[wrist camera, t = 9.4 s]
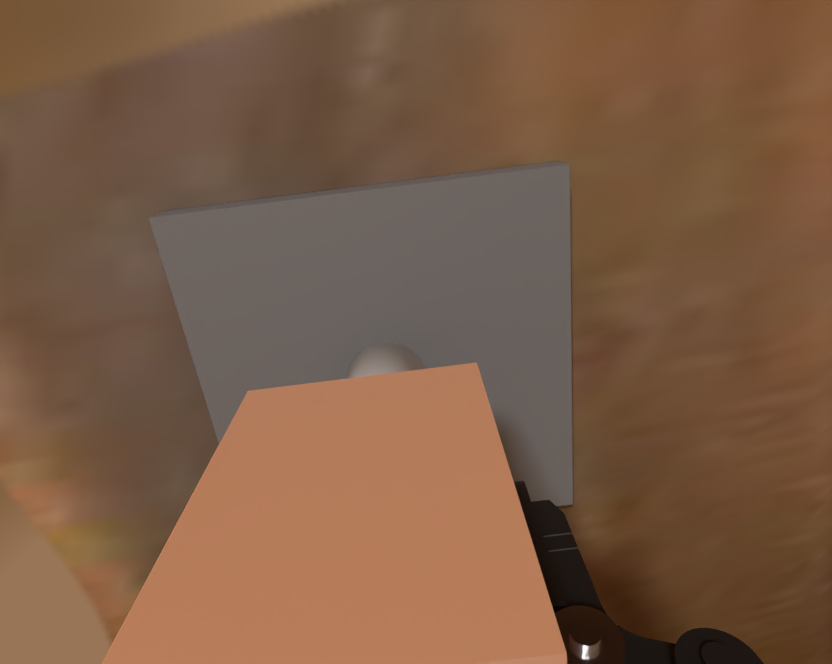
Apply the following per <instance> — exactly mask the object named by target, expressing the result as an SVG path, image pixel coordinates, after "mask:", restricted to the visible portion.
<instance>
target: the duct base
mask: <svg viewBox="0 0 832 664" xmlns="http://www.w3.org/2000/svg"><path fill="white" fill-rule="evenodd" d="M149 221H150V224H151V227H152V231H153V234H154V237H155V240H156V243H157V247H158V250H159V253H160V256H161V259H162V263H163V266H164V269H165V272H166V275H167V279H168V282H169V285H170V288H171V291H172V295H173V298H174V301H175V304H176V307H177V311H178V314H179V317H180V320H181V324H182V327H183V330H184V333H185V336H186V340H187V343H188V346H189V349H190V352H191V356H192V359H193V362H194V365H195V368H196V372H197V375H198V378H199V381H200V384H201V388H202V391H203V394H204V397H205V400H206V404H207V407H208V410H209V413H210V416H211V420H212V423H213V426H214V429H215V432H216V436H217V439H218V442H219V444H220V442H221V440H222V438H223V436H224V434H225V432H226V431H227V429H228V427H229V425H230V423H231V421H232V419H233V418H234V416H235V414H236V412H237V410H238V408H239V406H240V405H241V403H242V401H243V399H244V397H245V395H246V393H247V391H251V390H259V389H267V388H275V387H283V386H291V385H299V384H307V383H315V382H323V381H331V380H339V379H347V378H355V377H364V376H372V375H380V374H388V373H396V372H404V371H412V370H420V369H428V368H436V367H444V366H452V365H460V364H468V363H476V362H477V365H478V368H479V371H480V374H481V378H482V381H483V384H484V387H485V390H486V394H487V397H488V400H489V403H490V407H491V410H492V413H493V416H494V420H495V423H496V426H497V429H498V433H499V436H500V439H501V442H502V445H503V449H504V452H505V455H506V458H507V462H508V465H509V468H510V471H511V475H512V478H513V481H522V480H523V481H524V482H525V485H526V488H527V491H528V494H529V497H530V499H531V502H533V501H542V500H550V501H551V502H552V503H553V504H554V505H555V506H563V505H572V504H573V462H572V351H571V240H570V164H568V163H565V162H561V161H555V162H548V163H540V164H532V165H524V166H516V167H508V168H501V169H493V170H485V171H477V172H469V173H461V174H454V175H446V176H438V177H430V178H422V179H414V180H406V181H399V182H391V183H383V184H375V185H367V186H359V187H352V188H344V189H336V190H328V191H320V192H312V193H305V194H297V195H289V196H281V197H273V198H265V199H257V200H250V201H242V202H234V203H226V204H218V205H210V206H203V207H195V208H187V209H179V210H171V211H163V212H161V213H159V214H156V215H154V216H152V217H149Z"/></svg>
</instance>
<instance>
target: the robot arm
mask: <svg viewBox="0 0 832 664" xmlns="http://www.w3.org/2000/svg"><path fill="white" fill-rule="evenodd" d="M514 484H515V487H516V491H517V494H518V497H519V500H520V504H521V507H522V510H523V513H524V517H525V520H526V523H527V526H528V530H529V533H530V536H531V539H532V542H533V546H534V549H535V552H536V555H537V559H538V562H539V565H540V568H541V572H542V575H543V578H544V581H545V584H546V588H547V591H548V594H549V597H550V601H551V604H552V607H553V610H554V614H555V617H556V620H557V623H558V627H559V630H560V633H561V636H562V639H563V643H564V646H565V649H566V652H567V664H764V663H763V662H762V661H761V660H760V658H759V657H758V656H757V655H756V654H755V653H754V651H753V650H752V649H751V648H750V647H748V646H747V645H746V644H745V643H744V642H742V641H741V640H739V639H738V638H736V637H734V636H732V635H730V634H728V633H726V632H723V631H720V630H716V629H711V628H697V629H692V630H689V631H687V632H686V633H684V634H683V635H682V636H681V637H680V638H679V639H678V641H677V643H676V644H673V643H668V642H663V641H658V640H653V639H647V638H644V637H640V636H637V635H634V634H632V633H630V632H628V631H626V630H624V629H623V628H621V627H620V626H618V625H617V624H616V623H615V622H614V620H612V619H611V618H610V617H609V616H608V615H607V614H606V612H605V611H604V609H603V607H602V605H601V603H600V601H599V598H598V596H597V593H596V591H595V588H594V586H593V584H592V581H591V579H590V576H589V574H588V571H587V569H586V566H585V564H584V561H583V559H582V557H581V554H580V552H579V550H578V548H577V544H576V542H575V539H574V537H573V535H572V533H571V530H570V527H569V525H568V522H567V520H566V517H565V515H564V513H563V512H562V511H561V510H560V509H558V508H557V507H556V506H555V505H554V504H553V503H552V502H551V501H550V500H542V501H533V502H531V499H530V497H529V494H528V491H527V488H526V485H525V482H524V481H523V480H522V481H514Z"/></svg>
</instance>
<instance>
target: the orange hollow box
mask: <svg viewBox="0 0 832 664" xmlns="http://www.w3.org/2000/svg"><path fill="white" fill-rule="evenodd" d="M102 664H567V652H566V649H565V646H564V643H563V639H562V636H561V633H560V630H559V627H558V623H557V620H556V617H555V614H554V610H553V607H552V604H551V601H550V597H549V594H548V591H547V588H546V584H545V581H544V578H543V575H542V572H541V568H540V565H539V562H538V559H537V555H536V552H535V549H534V546H533V542H532V539H531V536H530V533H529V530H528V526H527V523H526V520H525V517H524V513H523V510H522V507H521V504H520V500H519V497H518V494H517V491H516V487H515V484H514V481H513V478H512V475H511V471H510V468H509V465H508V462H507V458H506V455H505V452H504V449H503V445H502V442H501V439H500V436H499V433H498V429H497V426H496V423H495V420H494V416H493V413H492V410H491V407H490V403H489V400H488V397H487V394H486V390H485V387H484V384H483V381H482V378H481V374H480V371H479V368H478V365H477V362H476V363H468V364H460V365H452V366H444V367H436V368H428V369H420V370H412V371H404V372H396V373H388V374H380V375H372V376H364V377H355V378H347V379H339V380H331V381H323V382H315V383H307V384H299V385H291V386H283V387H275V388H267V389H259V390H251V391H247V393H246V395H245V397H244V399H243V401H242V403H241V405H240V406H239V408H238V410H237V412H236V414H235V416H234V418H233V419H232V421H231V423H230V425H229V427H228V429H227V431H226V432H225V434H224V436H223V438H222V440H221V442H220V444H219V446H218V447H217V449H216V451H215V453H214V455H213V457H212V459H211V460H210V462H209V464H208V466H207V468H206V470H205V472H204V474H203V475H202V477H201V479H200V481H199V483H198V485H197V487H196V488H195V490H194V492H193V494H192V496H191V498H190V500H189V502H188V503H187V505H186V507H185V509H184V511H183V513H182V515H181V516H180V518H179V520H178V522H177V524H176V526H175V528H174V529H173V531H172V533H171V535H170V537H169V539H168V541H167V543H166V544H165V546H164V548H163V550H162V552H161V554H160V556H159V557H158V559H157V561H156V563H155V565H154V567H153V569H152V571H151V572H150V574H149V576H148V578H147V580H146V582H145V584H144V585H143V587H142V589H141V591H140V593H139V595H138V597H137V598H136V600H135V602H134V604H133V606H132V608H131V610H130V612H129V613H128V615H127V617H126V619H125V621H124V623H123V625H122V626H121V628H120V630H119V632H118V634H117V636H116V638H115V640H114V641H113V643H112V645H111V647H110V649H109V651H108V653H107V654H106V657H105V658H104V660H103V662H102Z"/></svg>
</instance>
